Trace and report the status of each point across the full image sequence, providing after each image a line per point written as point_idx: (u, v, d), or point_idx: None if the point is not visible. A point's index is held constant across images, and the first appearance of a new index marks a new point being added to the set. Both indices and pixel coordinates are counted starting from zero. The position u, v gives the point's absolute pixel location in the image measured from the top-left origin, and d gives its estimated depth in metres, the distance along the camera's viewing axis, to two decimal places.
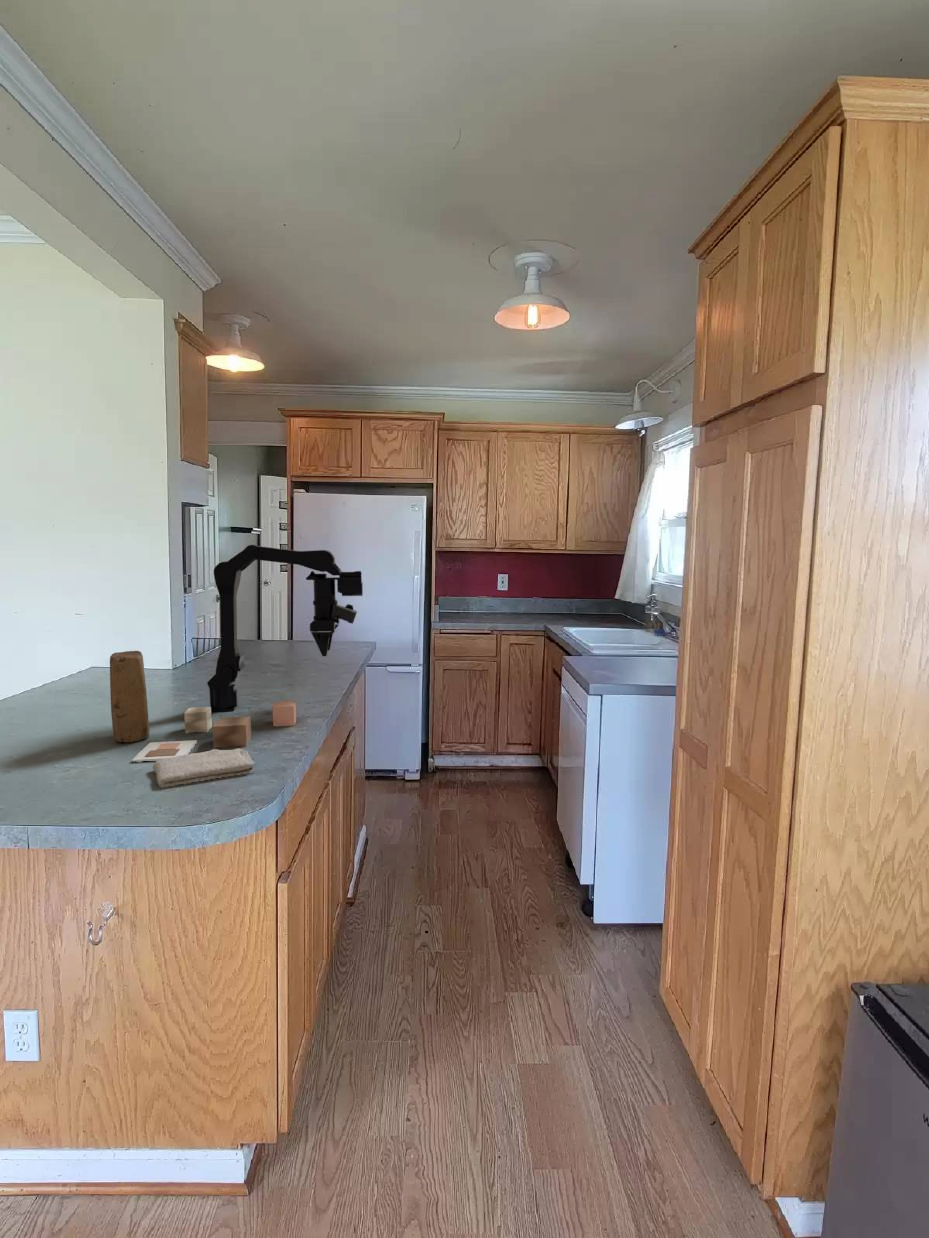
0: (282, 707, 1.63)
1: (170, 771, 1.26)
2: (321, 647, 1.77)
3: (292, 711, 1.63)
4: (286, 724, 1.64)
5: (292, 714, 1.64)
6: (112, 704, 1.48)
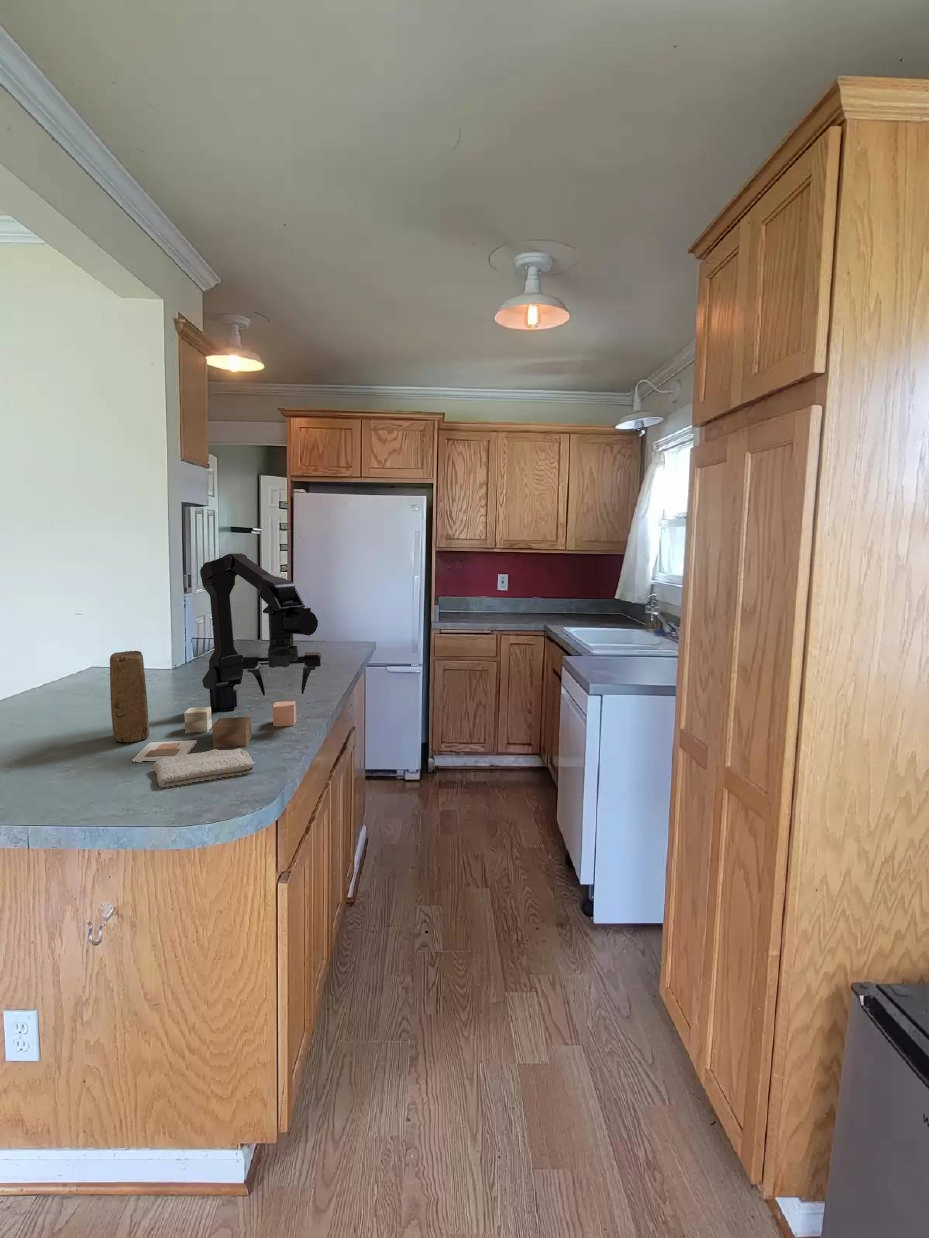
0: (282, 707, 1.63)
1: (170, 771, 1.26)
2: None
3: (292, 711, 1.63)
4: (286, 724, 1.64)
5: (292, 714, 1.64)
6: (112, 704, 1.48)
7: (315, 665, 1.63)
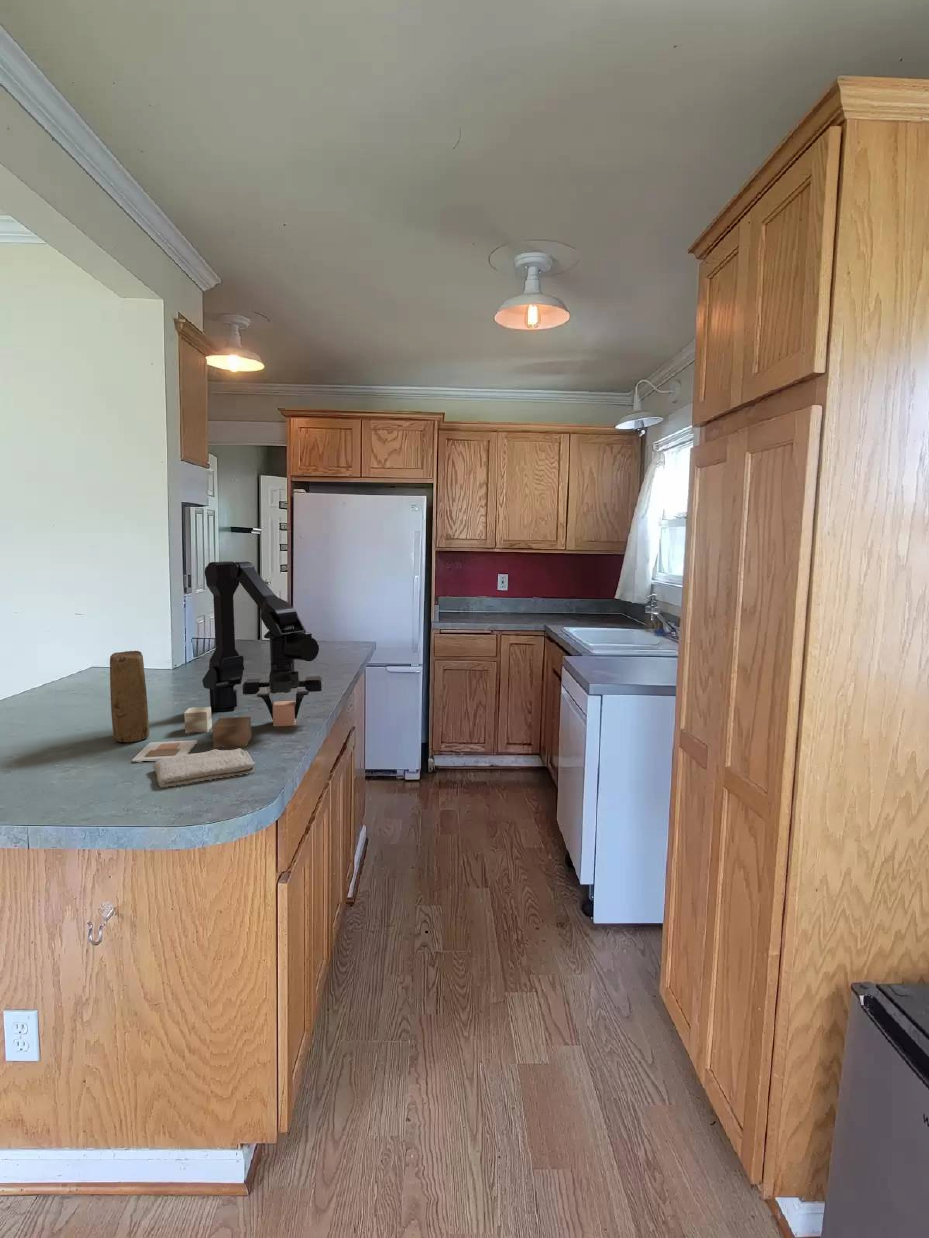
0: (282, 707, 1.63)
1: (170, 771, 1.26)
2: None
3: (292, 711, 1.63)
4: (286, 724, 1.64)
5: (292, 714, 1.64)
6: (112, 704, 1.48)
7: (316, 690, 1.63)
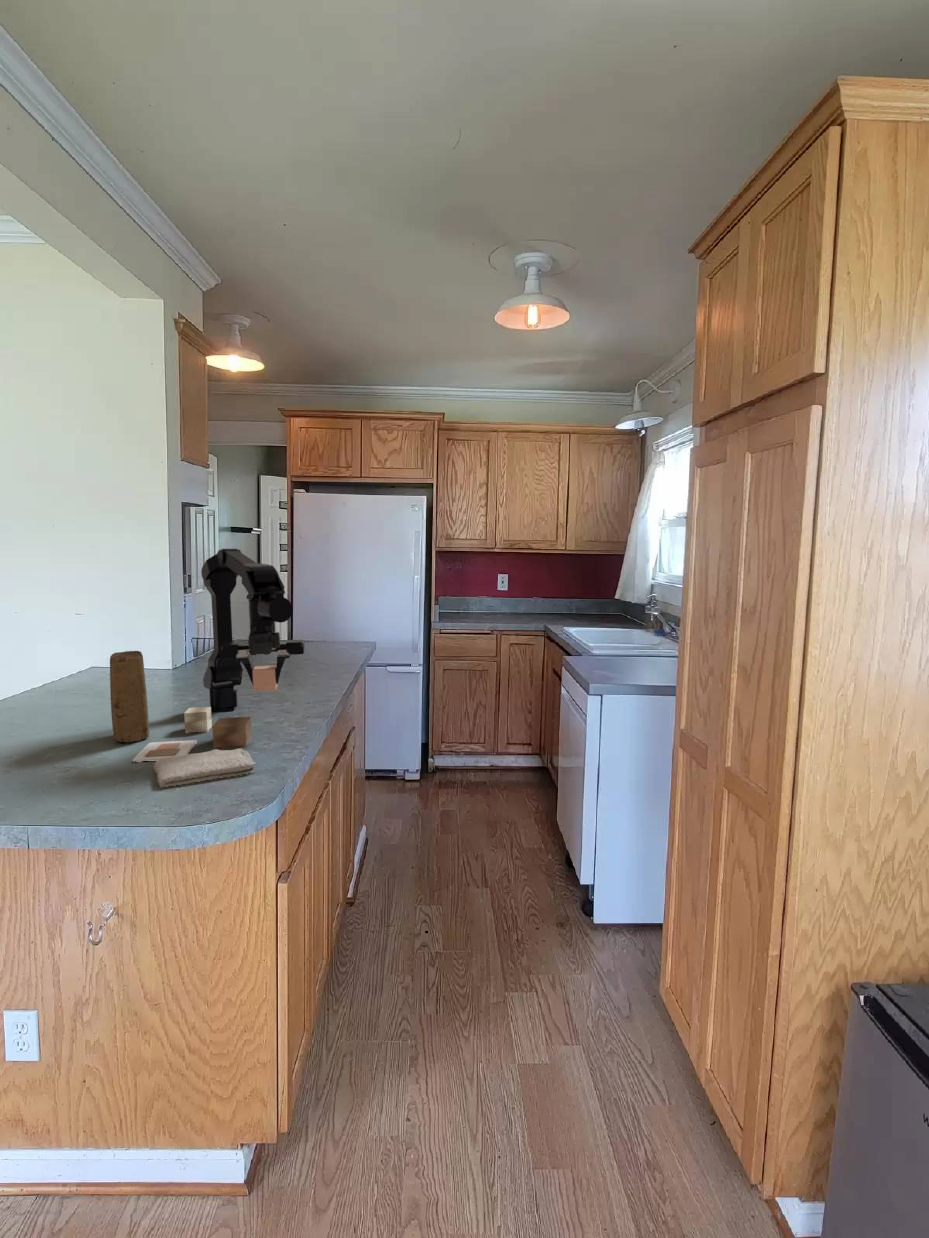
0: (262, 670, 1.56)
1: (171, 771, 1.26)
2: None
3: (273, 675, 1.56)
4: (267, 688, 1.57)
5: (273, 678, 1.57)
6: (112, 704, 1.48)
7: (298, 653, 1.56)
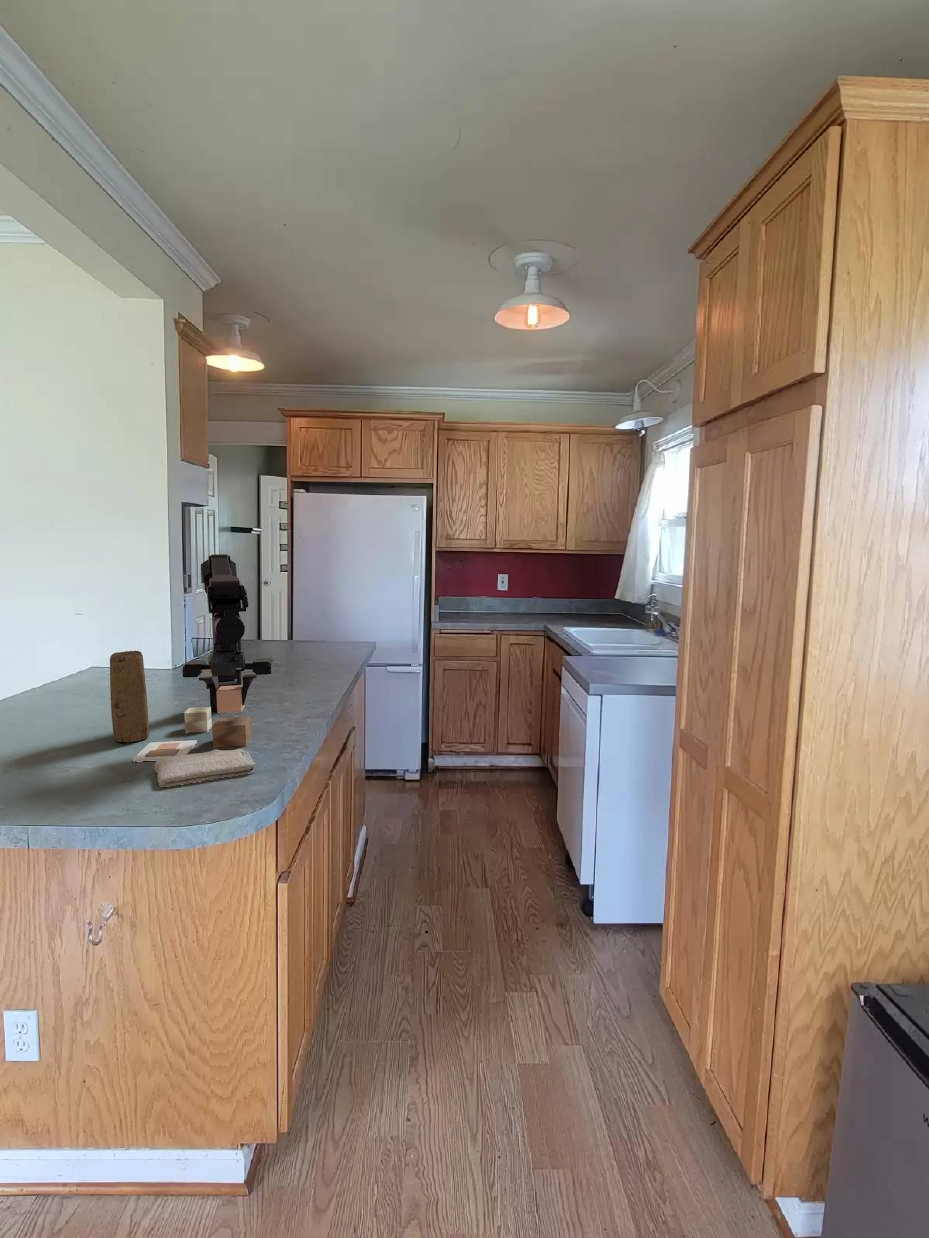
0: (227, 691, 1.47)
1: (171, 771, 1.26)
2: None
3: (238, 696, 1.47)
4: (232, 710, 1.47)
5: (238, 699, 1.47)
6: (112, 704, 1.48)
7: (265, 673, 1.47)
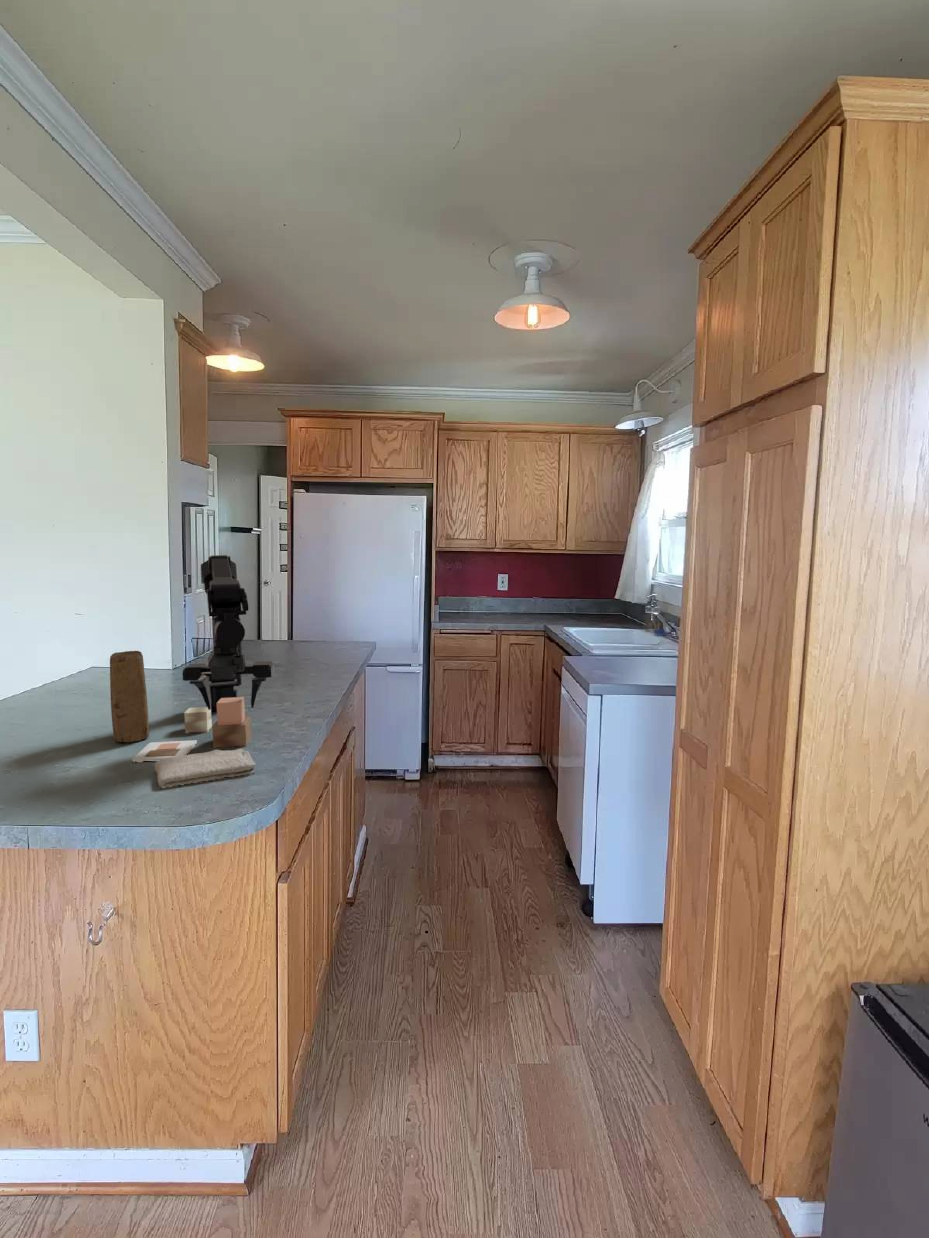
0: (227, 703, 1.47)
1: (171, 771, 1.26)
2: None
3: (238, 708, 1.47)
4: (232, 722, 1.48)
5: (238, 711, 1.47)
6: (112, 704, 1.48)
7: (265, 676, 1.47)
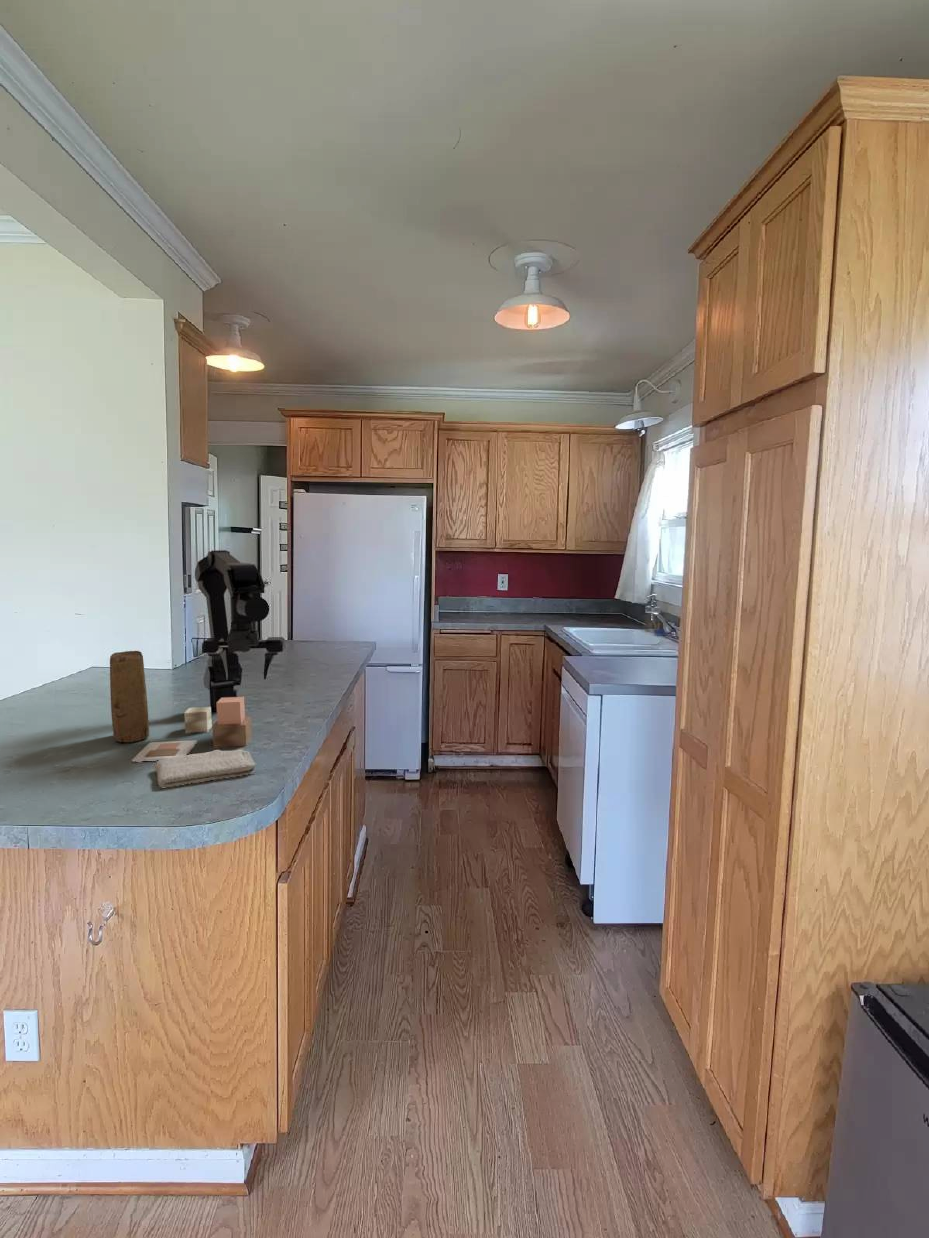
0: (227, 703, 1.47)
1: (171, 772, 1.25)
2: None
3: (238, 707, 1.48)
4: (232, 722, 1.48)
5: (238, 711, 1.48)
6: (112, 704, 1.48)
7: (277, 650, 1.60)
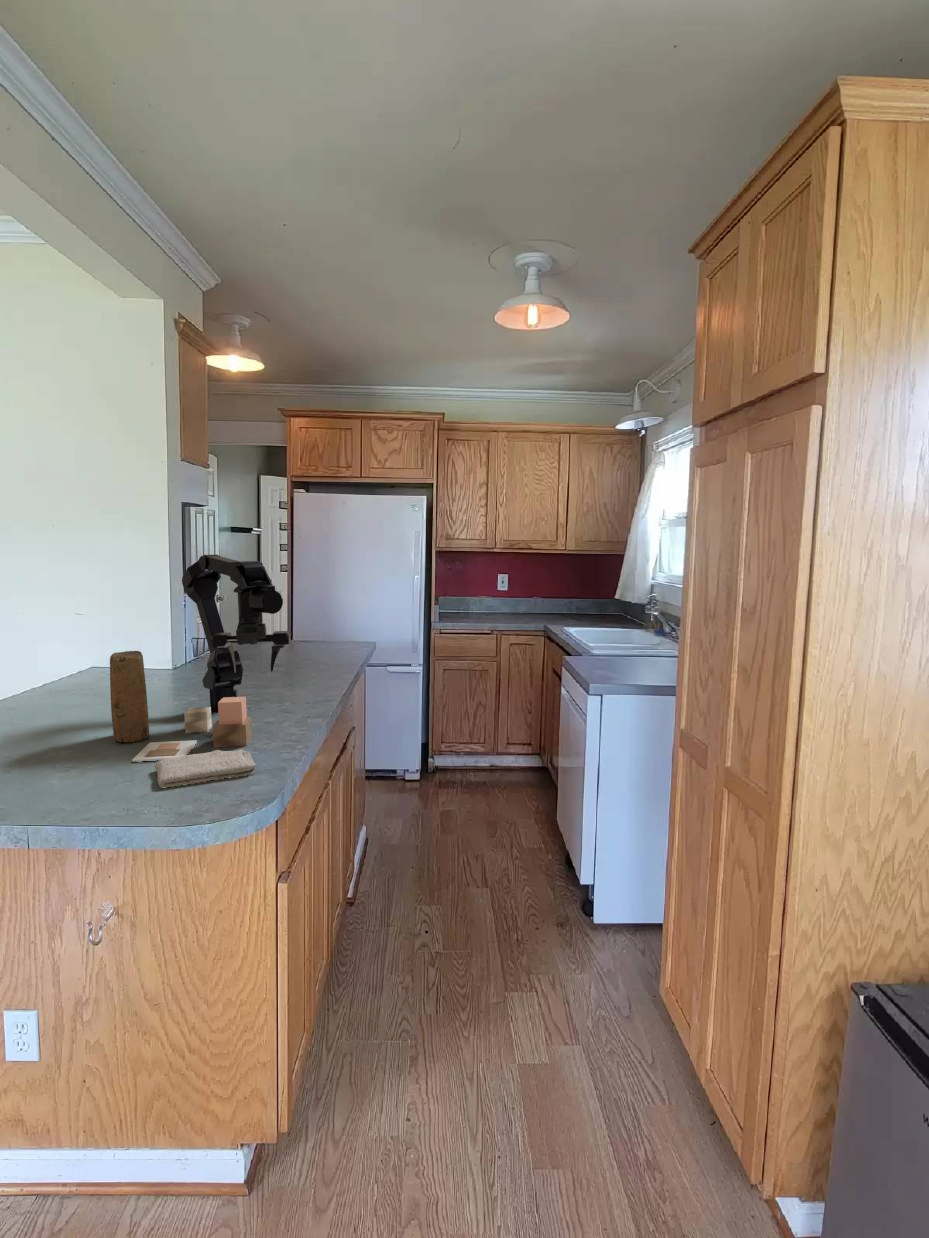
0: (229, 703, 1.47)
1: (171, 772, 1.25)
2: None
3: (240, 707, 1.48)
4: (233, 722, 1.48)
5: (240, 711, 1.48)
6: (112, 704, 1.48)
7: (283, 643, 1.67)
